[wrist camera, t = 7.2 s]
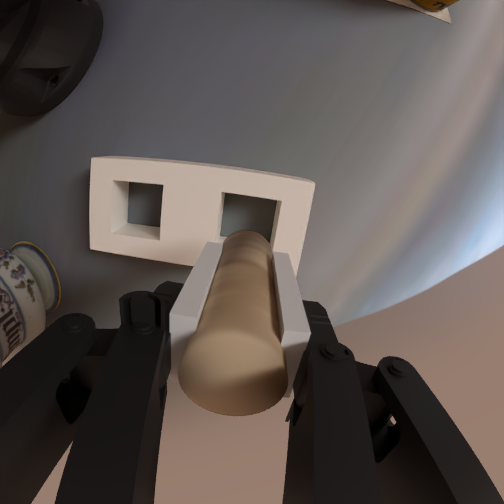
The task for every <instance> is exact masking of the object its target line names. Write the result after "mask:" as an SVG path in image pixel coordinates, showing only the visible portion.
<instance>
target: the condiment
mask: <svg viewBox="0 0 504 504" xmlns="http://www.w3.org/2000/svg"><path fill="white" fill-rule="evenodd" d="M387 1H390V2H394V3H397V4H400V5H404V6H407V7H410V8H413V9H415V10H418V11H420V12H423V13H425V14H428V15H431V16H433V17H436V18H438V19H441V20H443V21H445V22H448V23H451V19H450V15H449V12H448V8H447V7H448V6H450V5H452V4H454V3H455V2H457V1H459V0H387ZM451 24H452V23H451Z"/></svg>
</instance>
